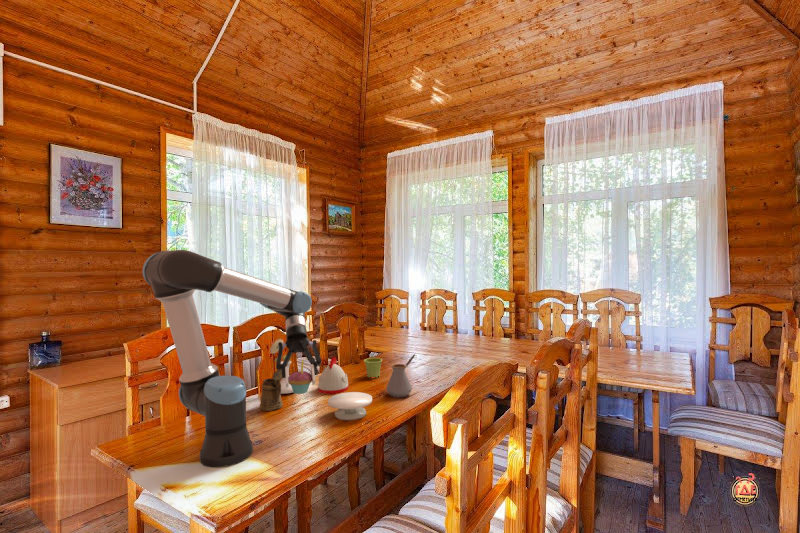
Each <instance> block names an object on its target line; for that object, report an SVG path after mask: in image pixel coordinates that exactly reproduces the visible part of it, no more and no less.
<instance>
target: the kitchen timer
mask: <svg viewBox="0 0 800 533" xmlns="http://www.w3.org/2000/svg"><path fill="white" fill-rule="evenodd" d="M337 360H338V359H337V358H336V356H332V357H331V359H330V361H329V364H328V365H327V366H326V367H325V368H324V369H323V370H322V372H321V375H319V377H318V384H317V388H318V393H320V394H323V393H324V395H337V394H336V393H338V394H341V392H342V393H345V392H347V391H348V390H349V381H348V378H349V377H348V374H347V373H345V371H344V370H343V368H342V367H341V366H340V365H339V364H337ZM347 389H348V390H347ZM346 390H347V391H346ZM344 391H345V392H344Z"/></svg>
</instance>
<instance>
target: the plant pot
mask: <svg viewBox="0 0 800 533" xmlns="http://www.w3.org/2000/svg"><path fill="white" fill-rule="evenodd" d="M363 362H364V364H365V370H366V375H367V378H370V377H376V378H379V377H380V374H381V368H382V367H381V366H382V362H383V359H382V358H380V357H370V358H365V359H363ZM378 376H379V377H378Z"/></svg>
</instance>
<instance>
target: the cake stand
mask: <svg viewBox="0 0 800 533" xmlns="http://www.w3.org/2000/svg"><path fill="white" fill-rule="evenodd" d="M372 403H373V396H372V395H371V394H369V393H366V392H359V391H351V392H350V391H349V392H347V391H346V392H342V393H338V394H333V395H331V396H330V397H329V398H328V400H327V404H328V406H329V407H331V408H333V409H337V410H335V411H334V417H335V418H336V419H338V420H341V421H354V420H355V421H357V420H359V419H362V418H364V417H365V416H366V415H367V410H366V408H364V407H367V406H369V405H371V404H372Z"/></svg>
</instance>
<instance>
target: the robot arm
mask: <svg viewBox="0 0 800 533" xmlns="http://www.w3.org/2000/svg"><path fill="white" fill-rule="evenodd" d="M142 278H144V281H145V282H146V283H147V285H149V286H151V289H152V292H153V294H154V299H155V300H158V301H160V302H161V303H162V306H163V308H164V313H165V317H166V320H167V323H168V325H169V330H170V333H171V337H172V339H173V340H172V341H173V343H174V346H175V350H176V355H177V358H178V361H179V364H180V368H181V370H182V373H181V375H180V376H179V377H178V378H179V384H180V386H179V389H178V397H179V400H180V403H181V404H182V405H183V406H184V407H185V408H186V409H188V410H189V411H192V412H194V413H196V414H199V415H201V416H204V420H205V422H204V424H205V434H204V439H203V442H202V444H201V449H200V451H199V462H200V464H201V465H203V466H204V467H209V468H222V467H223V468H224V467H229V466H232V465H235V464H239V463H242V462H243V461H245V460H247V459H249V457H251V456H252V454H253V452H254V444H253V441H252V439H251V437H250V433H249V430H248V427H247V389H246V382H245V381H244V380H243V378H241V377H239V376H235V375H220V371H219V368H218V366H217V365H215V364H214V363H212V362H211V357H210V355H209V351H208V350H209V349H208V347H207V342H206V340H205V336H204V331H203V329H202V324H201V321H200V318H199V314H198V311H197V307H196V303H195V300H194V296H193V294H194V292H195V291H202V292H203V291H204V292H206V293H212V292H214V291H215V292H219V293H223V294H227V295H229V296H233V297H236V298H237V297H238V298H241V299H245V300H248V301H251V302H255V303H258V304H259V305H261V306H263V307H264V308H265V309H268V310H270V311H273V312H275V313H276V314H279V315H280V316H283V317H284V319H285V320H284V321H285V334H286V341H285V342H283V343H281V342H279V343H278V349H279V351H278V352H277V357H278V358H277V357H276V358H277V361H276V365H275V369H276V370H279V369H281V370H282V379H283V378H285V379H286V388H287V387H288V367H286V366H287V364H288V362H289V361H291V358H292V356H293V354H296V353H302V354H303V355H304V356H305V358H306V359H307V361H308V362H309V364H310V365H311V366H310V374H311V375H312V382H311V383H312V385H313V386H315V385H316V376H317V375H318V367H319V366H320V367H321V366H322V358H321V356H320V352H319V350H318V346H317V340H316V339H313V340H312V341H311V340H309V338H308V332H307V322H306V315H305V314H306V313H307V312H309V310H311V307H312V303H313V301H312V300H313V299H312V297H311V295H310V294H309V293H307V291H306V292H304V291H301V290H300V291H298V290H297V291H296V290H293V289H291V288H288V287H284V286H282V285H279V284H276V283H273V282H270V281H267V280H263V279H261V278H257V277H255V276H252V275H249V274H246V273H243V272H239V271H237V270H233V269H230V268H227V267H225V266H223V263H222V262H220V261H216V260H214V259H211V258H209V257H207V256H204V255H201V254H198V253H196V252H193V251H191V250H187V249H186V250H185V249H174V250H173V249H172V250H161V251H157V252H155V253H153V254H151V255H150V256H149V257H148V258H147V259H146V260H145V262H144V263H143V266H142ZM308 346H310V348H311V349H312V352H313V355H314V356H313V355H312V353H311V352H310V350H309V348H308ZM285 347H286V348H287V349H288V351H287V353H286V354H285V355H286V357H285V359H284V358H282V357H283V350H285ZM282 359H284V360H283V361H284V362H283V361H282ZM281 362H283V364H281Z"/></svg>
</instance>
